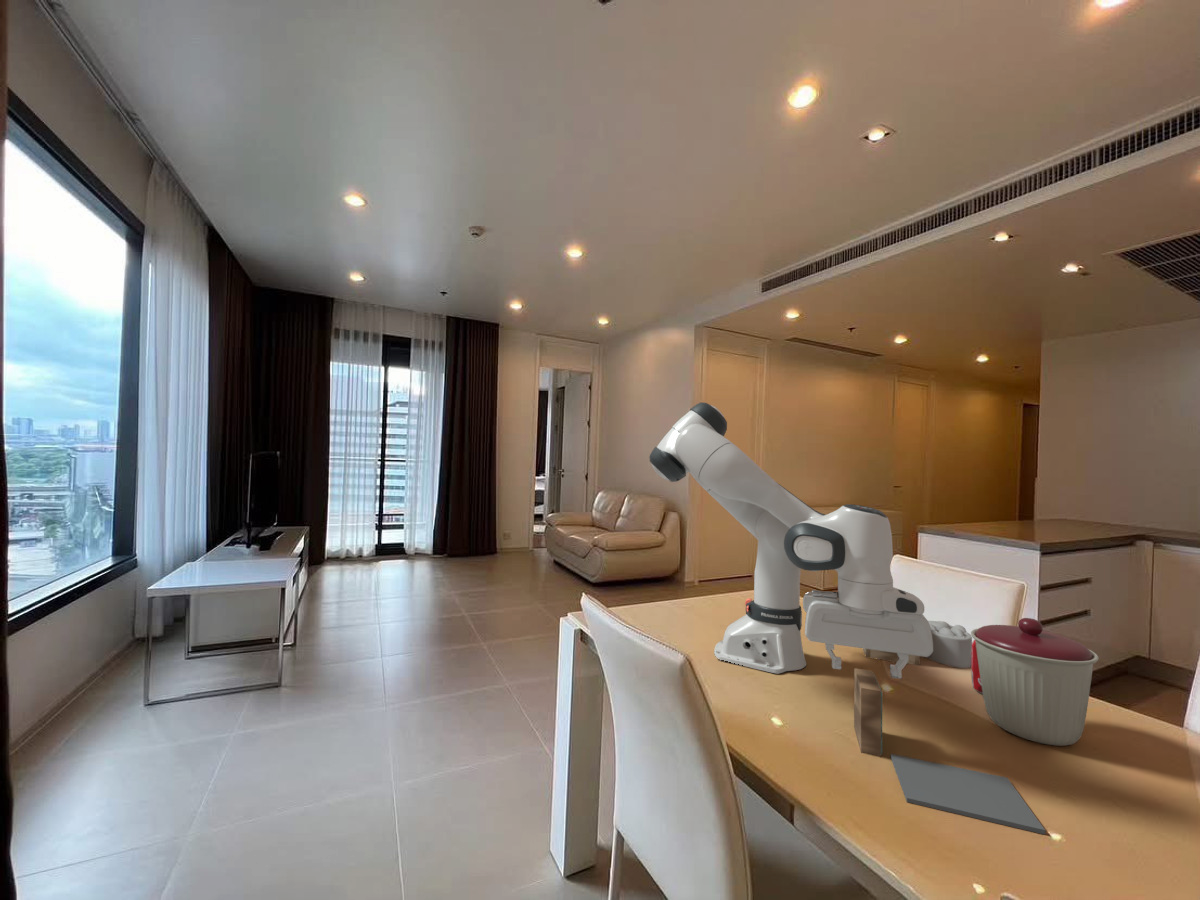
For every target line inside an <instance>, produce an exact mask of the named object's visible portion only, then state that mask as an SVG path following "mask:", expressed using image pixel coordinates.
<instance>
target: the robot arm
mask: <svg viewBox="0 0 1200 900" xmlns="http://www.w3.org/2000/svg"><path fill="white" fill-rule="evenodd" d="M727 428H728V421H727V420H726V418H725V416H724V414H723V412H721V411H720V410H719V408H717V407H716V406H714V405H712V404H709V403H707V402H698V403H696V404H695V405H694V406H692V407H691V408H690V409H689V411H687V413H686V414H684V415H682V416H681V418H680V419H678V420H677V421H676V422H675V423H674V424H673V425H672V426H671V428H670V430H668V432H667V433H666V434H665V435H664V437H663V438H662V439H660V442H659V443H658V444H657V446H654V448H653V449H652V451H651V452H650V454H649V457H648V458H649V463H650V464H651V466H652V469H653V471H654V472H655V473H656V474H657V475H658V476H659V477H660V478H662V479H664V480H665V481H670V482H671V483H674V482H675V483H677V482H679V481H681V480H682V479H685V477H686V476H687V474H688V473H689V474H690V475H691V476H692V477H693V479H694V480H695V481H696V482H697V484H698V485H699V486H700V487H702V489H703V490H704V491H706V493H707V494H709V496H711V497H712V499H714V500H715V501H716V502H717V503H718V504H719V505H720V506H722V508H723V509H725V510H726V512H728V513H729V514H730V515H731V516H732V517H733V518H734V519H735V520H736V521H738V523H739V524H741V526H743V527H744V529H746V530H747V531H748V532H749V533H750V534H751V535H752V536H753V537H754V538H755V539H756V540H757V552H756V554H757V555H756V561H755V568H754V574H753V575H754V576H753V580H754V583H753V584H754V585H753V587H754V589H753V593H754V594H753V599H752V598H746V600H745V603H744V604H745V614H744V615H743V616H741V617H740V618H738V619H737V620H735V621H733V622H732V623H730V624H729V625H728V626H727V627H726V629H725V632H724V634H723V639H722V640H720V641H718V642H717V643H716V644H715V646H714V649H713V651H714V652H713V655H714V654H715V655H714V657H715V656H716V657H717V658H718V659H720V660H719V661H721V660H724V661H723V662H725V661H728V662H727V663H729V662H731V664H734V663H735V664H734V665H738V664H739V665H738V666H742V665H743V666H742V667H747V668H751V669H754V670H759V671H763V672H768V673H772V674H776V675H777V674H782V673H785V672H790V671H797V670H799V671H800V670H802V669H803V668H805V667H806V666H807V661H806V658H805V654H804V649H803V642H802V636H801V633H802V632H801V629H802V627H803V611H802V608H803V610H804V611H805V613H806V615H805V621H804V622H805V624H804V636H805V637H806V638H807V640H808V641H809V642H813V643H822V644H825V650H826V651H827V654H828V656H829V657H830V659H831V668H832V669H834V670H842V659H841V657H840V656H836V655H835V653H834V650H835V645H836V646H843V647H850V648H851V647H852V648H857V649H858V648H859V649H862V648H864V649H871V650H879V651H886V652H893V653H897V655H898V657H899V660H898V661H897V662H895V664H891V663H890V664H889V669H890V670H889V671H890V672H889V674H890V676H891V678H892V679H900V680H902V670H903V669H904V668H905V666H907V662H908V661H909V655H915V656H920V657H922V658H923V657H925V658H927V657H929V656H930V655H931V654H932V653H933V640H932V633H931V628H930V625H929V622H928V621H929V620H928V618H926V617H925V616H924V613H925V604H924V602H923V601H922V600H921V599H920V598H919V597H917V596H916V595H915V594H913V593H910V592H908V591H905V590H902V589H901V588H900V589H899V588H897V587H894V579H893V575H892V572H891V564H892V560H893V557H894V553H893V551H894V549H893V534H892V528H891V523H890V520H889V517H888V516H887V515H886V514H885V513H884V512H883V511H881V510H879V509H877V508H873V507H870V506H866V505H861V504H860V505H859V504H858V505H857V504H851V503H850V504H849V503H848V504H843V505H841V506H840V507H839V508H838V509H836V510H834V511H832V512H830V513H828V514H827V513H826V514H825V513H822V512H819V511H817V510H815V508H813V507H811V506H809V504H807V503H806V502H804V501H803V500H802V499H800V498H799V497H797V496H796V495H794V493H792V492H790V491H789V490H788V489H786V488H785V487H784V486H783V485H782V484H780V483H778V482H777V481H776V480H775V479H774V478H772V477H771V476H770V475H769V474H768V473H767V472H766V471H764V470H763V469H762V468H761V467H760V466H759V465H758V464H757V463H756V462H755V461H753V459H752V458H750V456H748V455H747V454H746V453H745V452H744V451H743V450H742V449H740V448H739V447H738V446H737V445H736V444H734V443H733V442H732V441H731V440H729V439H728V438H726V437H725V435H726V433H727V430H728V429H727ZM802 570H803V571H809V572H819V571H830V570H831V571H832V570H834V571H836V573H837V591H827V590H825V591H822V590H818V589H813V590H811V591H808V592H806V593H805V594H804V595H803V598H802V606H803V607H802V606H801V601H800V599H801V597H800V596H801V593H800V592H801V587H800V586H801V573H802V572H801V571H802ZM716 657H715V658H716ZM717 658H716V659H717ZM718 659H717V660H718Z"/></svg>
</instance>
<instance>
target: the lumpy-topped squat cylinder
mask: <svg viewBox="0 0 1200 900" xmlns="http://www.w3.org/2000/svg"><path fill="white" fill-rule="evenodd" d="M928 622H929V625H930V628H931V633H932V640H933V653H932V654H931V655H930V656H929V657H926V658H927V659H929V660H930V661H933V662H935V663H939V664H941V665H945V666H948V667H953V668H957V669H958V668H959V669H969V668H971V648H972V642H973V637H972V636H971V633H969V632H967V630H966V628H965V626H963V625H960V624H955V625H954V626H953V625H950V624H949V623H948V622H946V621H943V620H939V621H938V620H935V621H934V620H928Z"/></svg>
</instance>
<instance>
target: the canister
mask: <svg viewBox="0 0 1200 900" xmlns="http://www.w3.org/2000/svg"><path fill="white" fill-rule="evenodd" d="M970 635H971V637H972V639H973V640H975V642H976V650H977V657H978V664H979V672H980V679H981V686H982V692H983V695H982V696H983V701H984V703H983V704H984V707H985V711H986V712H987V715H988V716H989V718H990V719H991V721H992V722H994V723H995V724H996V725H997V726H998V727H1000V728H1001V729H1003V730H1004V731H1007V732H1008V733H1009V734H1013V735H1014V736H1017V737H1019V738H1023V739H1025V740H1027V741H1032V742H1036V743H1038V744H1044V745H1049V746H1057V747H1059V746H1060V747H1064V746H1065V747H1066V746H1070V745H1074V744H1075V743H1078V741H1079V740H1080V738H1081V737H1082V735H1083V732H1084V729H1085V724H1086V718H1087V711H1088V706H1089V699H1090V693H1091V692H1090V691H1091V685H1092V684H1091V683H1092V676H1093V668H1094V664H1096V663H1097V662H1098V661H1099V655H1098V654H1097V652H1094V651H1093V650H1091V649H1089V648H1088V647H1086V646H1085V645H1084V644H1082V643H1081V642H1078V641H1077V640H1074V639H1071V638H1069V637H1067V636H1063V635H1060V634H1057V633H1053V632H1049V631H1044V626H1043V624H1042V623H1041V622H1040V621H1039V620H1037V619H1035V618H1031V617H1030V618H1029V617H1023V618H1022V617H1021V619H1019V620H1018V622H1017V625H1009V624H1006V625H1005V624H989V625H983V626H981V627H978V628H974V629H972V631H971V632H970Z"/></svg>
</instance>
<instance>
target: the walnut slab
mask: <svg viewBox="0 0 1200 900" xmlns="http://www.w3.org/2000/svg"><path fill="white" fill-rule="evenodd" d="M853 671H854V672H853V675H854V676H853V677H854V679H853V680H854V683H853V689H854V690H853V694H854V695H853V696H854V697H853V700H854V702H853V705H854V706H853V712H854V713H853V728H854V731H855V735H856V736H855V737H856V739H857V742H858V746H859V750H860V753H861V754H865V755H871V756H875V757H880V758H881V757H882V755H883V691H882V688H881V687H880V684H879V682H878V679H877V677H876V675H875V673H874V672H873V671H872V670H867V669H863V668H862V669H861V668H856V667H855V668H854V670H853Z"/></svg>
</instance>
